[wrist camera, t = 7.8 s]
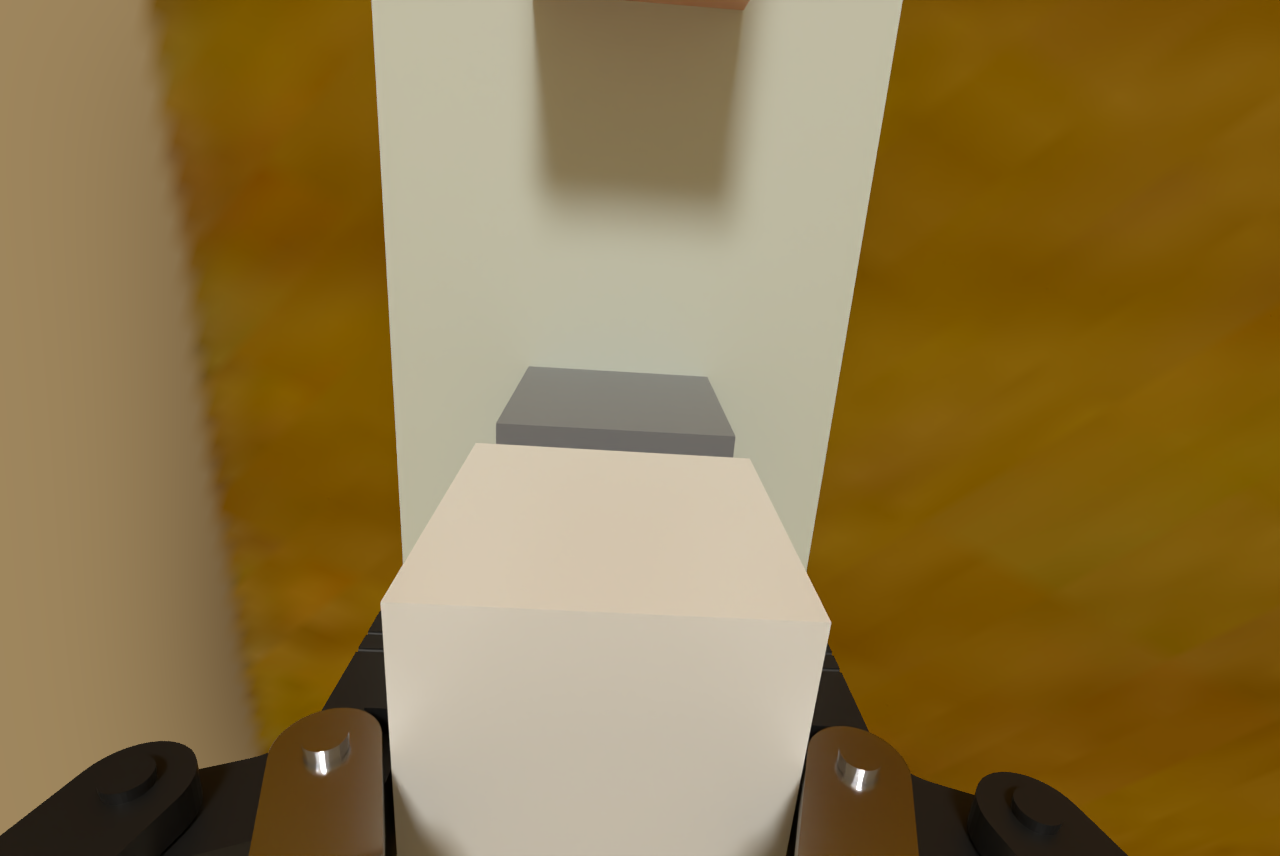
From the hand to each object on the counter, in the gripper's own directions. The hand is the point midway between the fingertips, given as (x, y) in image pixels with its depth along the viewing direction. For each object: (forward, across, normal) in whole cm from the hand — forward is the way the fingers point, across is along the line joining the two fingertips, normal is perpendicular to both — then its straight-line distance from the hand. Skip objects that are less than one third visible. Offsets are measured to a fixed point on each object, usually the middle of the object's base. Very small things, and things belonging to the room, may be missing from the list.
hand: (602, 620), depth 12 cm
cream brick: (0, 0, 0) cm, 0 cm away
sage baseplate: (+8, 0, -7) cm, 11 cm away
